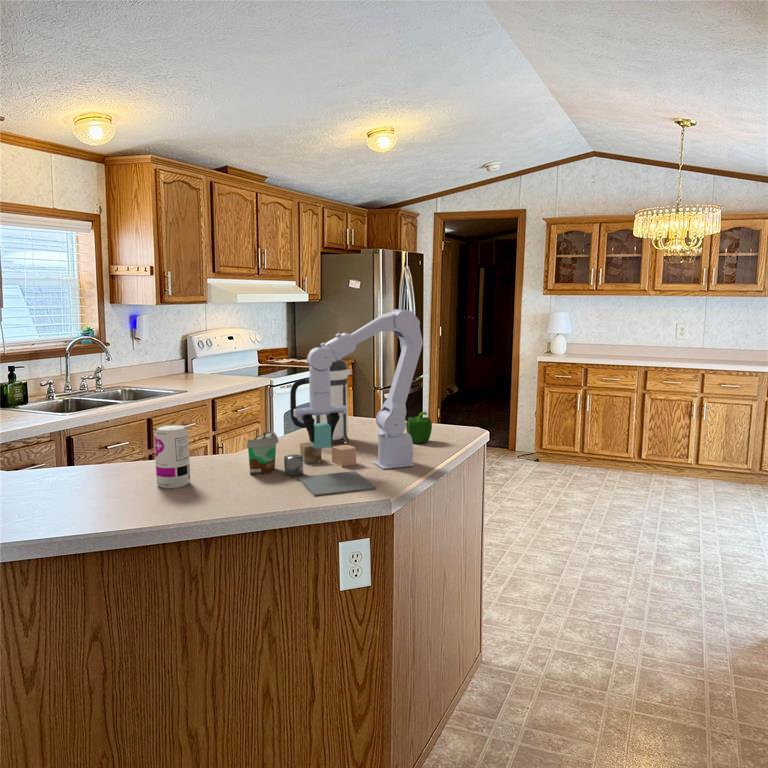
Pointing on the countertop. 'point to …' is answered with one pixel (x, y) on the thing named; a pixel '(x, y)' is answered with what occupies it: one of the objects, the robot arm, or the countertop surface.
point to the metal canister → (293, 465)
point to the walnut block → (310, 453)
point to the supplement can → (172, 456)
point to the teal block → (322, 436)
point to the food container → (262, 453)
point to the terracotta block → (344, 455)
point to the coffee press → (337, 399)
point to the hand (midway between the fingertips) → (320, 440)
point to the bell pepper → (419, 428)
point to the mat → (336, 483)
